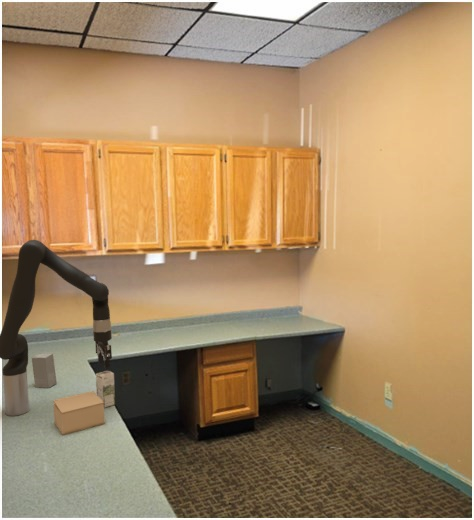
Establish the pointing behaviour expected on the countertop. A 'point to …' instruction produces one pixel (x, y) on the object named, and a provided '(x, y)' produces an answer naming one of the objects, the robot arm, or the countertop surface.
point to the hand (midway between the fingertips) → (104, 365)
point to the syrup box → (106, 388)
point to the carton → (79, 419)
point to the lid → (77, 402)
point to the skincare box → (44, 370)
